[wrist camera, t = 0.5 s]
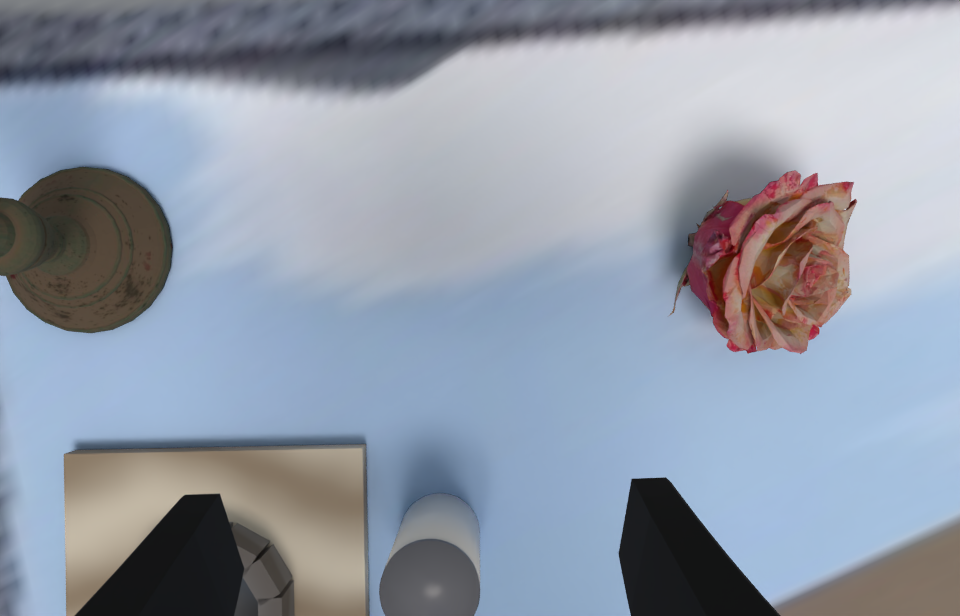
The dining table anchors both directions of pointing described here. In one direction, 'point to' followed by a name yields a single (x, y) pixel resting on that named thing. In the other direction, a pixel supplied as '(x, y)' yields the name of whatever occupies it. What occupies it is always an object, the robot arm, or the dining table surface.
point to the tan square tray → (230, 519)
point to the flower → (773, 263)
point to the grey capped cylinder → (434, 561)
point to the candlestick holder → (85, 249)
